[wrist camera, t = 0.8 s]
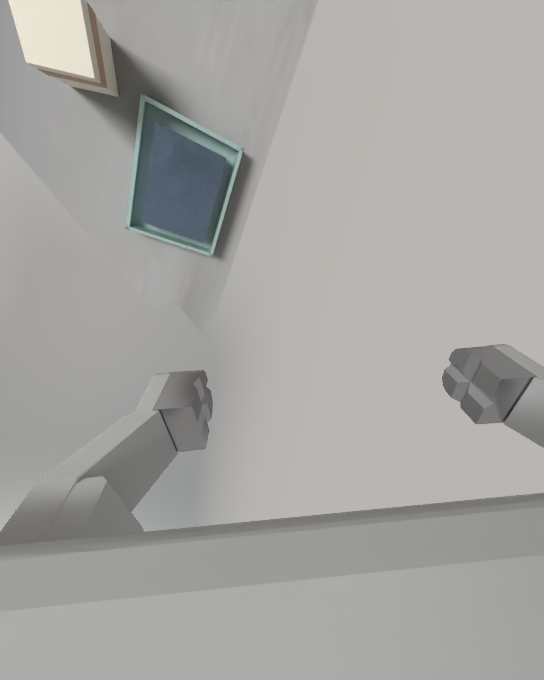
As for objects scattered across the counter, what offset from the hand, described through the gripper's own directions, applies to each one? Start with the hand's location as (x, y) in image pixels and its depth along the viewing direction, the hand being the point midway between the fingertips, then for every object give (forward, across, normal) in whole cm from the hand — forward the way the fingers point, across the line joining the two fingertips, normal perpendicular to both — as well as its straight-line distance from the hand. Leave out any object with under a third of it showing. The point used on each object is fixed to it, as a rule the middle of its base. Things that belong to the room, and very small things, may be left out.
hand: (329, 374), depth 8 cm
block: (+39, +13, -5) cm, 41 cm away
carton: (+37, +20, -18) cm, 45 cm away
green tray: (+39, +13, -5) cm, 42 cm away
